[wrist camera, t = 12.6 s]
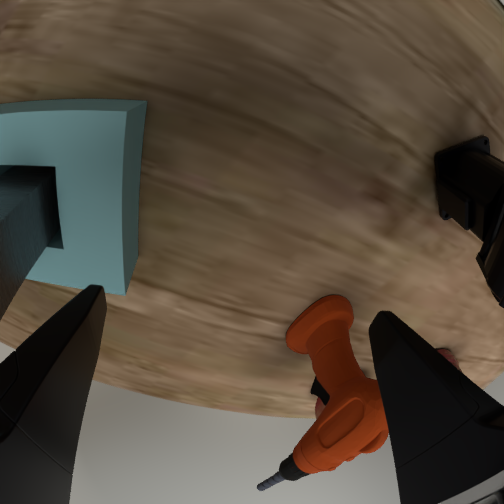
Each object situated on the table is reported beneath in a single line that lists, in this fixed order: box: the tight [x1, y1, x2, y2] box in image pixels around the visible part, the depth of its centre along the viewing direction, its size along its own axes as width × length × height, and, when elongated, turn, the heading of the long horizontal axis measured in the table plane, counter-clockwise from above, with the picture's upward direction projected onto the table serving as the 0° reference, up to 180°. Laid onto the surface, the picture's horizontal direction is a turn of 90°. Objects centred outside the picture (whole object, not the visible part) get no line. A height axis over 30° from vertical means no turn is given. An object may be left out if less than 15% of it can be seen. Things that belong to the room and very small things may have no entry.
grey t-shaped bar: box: [0, 165, 61, 320], centre depth 13 cm, size 4×6×14 cm, turn 168°
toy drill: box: [257, 295, 389, 491], centre depth 25 cm, size 5×19×15 cm, turn 149°
